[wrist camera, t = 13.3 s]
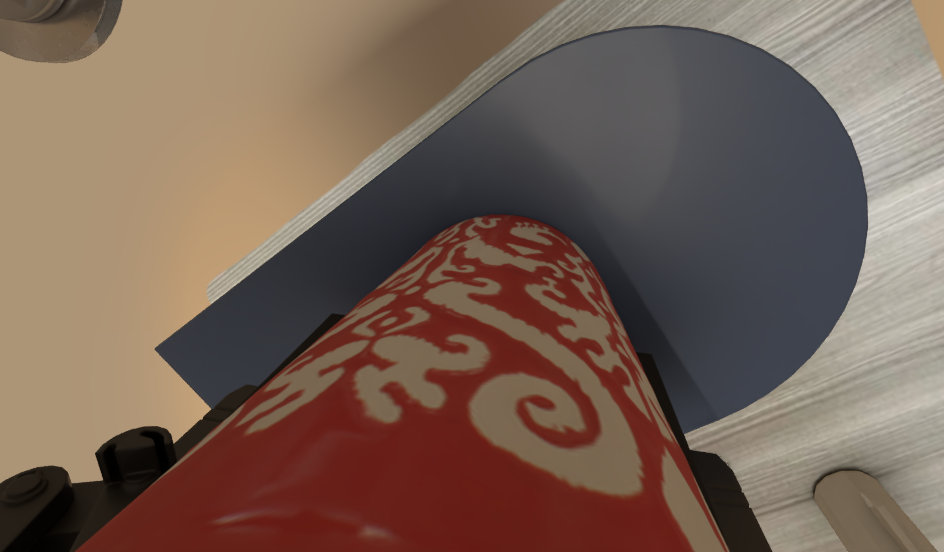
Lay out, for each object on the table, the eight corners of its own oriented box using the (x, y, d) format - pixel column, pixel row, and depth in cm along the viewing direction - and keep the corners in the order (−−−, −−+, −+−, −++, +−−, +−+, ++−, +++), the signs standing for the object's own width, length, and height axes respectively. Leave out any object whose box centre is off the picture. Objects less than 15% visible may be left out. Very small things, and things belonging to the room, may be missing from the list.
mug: (502, 118, 14) (116, 315, 2) (694, 318, 15) (1316, 1287, 3) (282, 355, 19) (-258, 880, 6) (444, 492, 20) (268, 1151, 8)
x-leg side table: (463, 295, 54) (345, 571, 23) (390, 198, 51) (139, 359, 20) (670, 169, 46) (942, 330, 14) (598, 44, 43) (739, -105, 11)
